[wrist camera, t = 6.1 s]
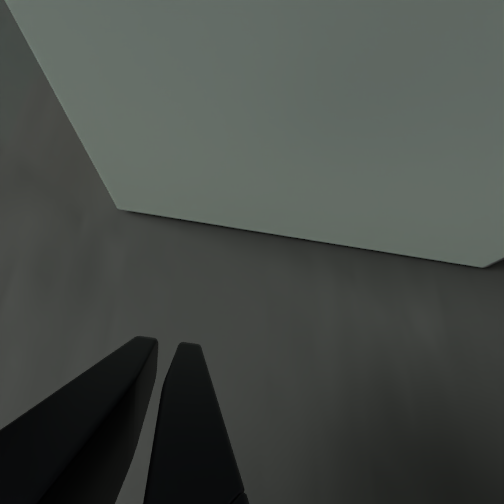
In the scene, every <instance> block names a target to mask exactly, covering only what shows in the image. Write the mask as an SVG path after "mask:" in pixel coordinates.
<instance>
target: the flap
mask: <svg viewBox="0 0 504 504" xmlns="http://www.w3.org/2000/svg"><path fill="white" fill-rule="evenodd" d="M5 2H6V4H7V6H8V7H9V9H10V11H11V13H12V15H13V17H14V18H15V20H16V22H17V24H18V26H19V28H20V30H21V31H22V33H23V35H24V37H25V39H26V41H27V42H28V44H29V46H30V48H31V50H32V52H33V54H34V55H35V57H36V59H37V61H38V63H39V65H40V66H41V68H42V70H43V72H44V74H45V76H46V78H47V79H48V81H49V83H50V85H51V87H52V89H53V90H54V92H55V94H56V96H57V98H58V100H59V101H60V103H61V105H62V107H63V109H64V111H65V113H66V114H67V116H68V118H69V120H70V122H71V124H72V125H73V127H74V129H75V131H76V133H77V135H78V137H79V138H80V140H81V142H82V144H83V146H84V148H85V149H86V151H87V153H88V155H89V157H90V159H91V161H92V162H93V164H94V166H95V168H96V170H97V172H98V173H99V175H100V177H101V179H102V181H103V183H104V185H105V186H106V188H107V190H108V192H109V194H110V196H111V197H112V199H113V201H114V203H115V205H116V207H117V209H121V210H127V211H134V212H140V213H146V214H152V215H158V216H165V217H171V218H177V219H183V220H189V221H196V222H202V223H208V224H214V225H221V226H227V227H233V228H239V229H245V230H252V231H258V232H264V233H270V234H276V235H283V236H289V237H295V238H301V239H307V240H314V241H320V242H326V243H332V244H339V245H345V246H351V247H357V248H363V249H370V250H376V251H382V252H388V253H394V254H401V255H407V256H413V257H419V258H425V259H432V260H438V261H444V262H450V263H457V264H463V265H469V266H475V267H481V268H486V267H489V266H491V265H493V264H496V263H498V262H500V261H502V260H504V0H5Z"/></svg>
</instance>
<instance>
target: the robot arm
mask: <svg viewBox="0 0 504 504" xmlns="http://www.w3.org/2000/svg"><path fill="white" fill-rule="evenodd" d="M157 357H158V341H157V339H156V338H151V337H144V336H137V337H134V338H133V339H132V340H130V341H129V342H127V343H126V344H124V345H123V346H121V347H120V348H118V349H117V350H116V351H114V352H113V353H111V354H110V355H108V356H107V357H105V358H104V359H103V360H101V361H100V362H98V363H97V364H95V365H94V366H92V367H91V368H89V369H88V370H87V371H85V372H84V373H82V374H81V375H79V376H78V377H76V378H75V379H74V380H72V381H71V382H69V383H68V384H66V385H65V386H63V387H62V388H60V389H59V390H58V391H56V392H55V393H53V394H52V395H50V396H49V397H47V398H46V399H45V400H43V401H42V402H40V403H39V404H37V405H36V406H34V407H33V408H31V409H30V410H29V411H27V412H26V413H24V414H23V415H21V416H20V417H18V418H17V419H16V420H14V421H13V422H11V423H10V424H8V425H7V426H5V427H4V428H2V429H1V430H0V504H115V502H116V499H117V497H118V494H119V492H120V489H121V487H122V485H123V482H124V480H125V477H126V475H127V472H128V470H129V467H130V464H131V462H132V459H133V456H134V453H135V450H136V446H137V443H138V440H139V436H140V433H141V429H142V425H143V422H144V418H145V415H146V411H147V408H148V404H149V401H150V397H151V394H152V390H153V386H154V383H155V379H156V372H157ZM143 504H249V502H248V498H247V495H246V494H245V493H244V486H243V483H242V480H241V476H240V473H239V470H238V466H237V463H236V460H235V457H234V453H233V450H232V447H231V443H230V440H229V437H228V434H227V430H226V427H225V424H224V420H223V417H222V414H221V411H220V407H219V404H218V401H217V398H216V394H215V391H214V388H213V384H212V381H211V378H210V375H209V371H208V368H207V365H206V361H205V358H204V355H203V352H202V348H201V346H200V345H199V344H193V343H186V342H182V343H180V344H179V345H178V348H177V350H176V353H175V355H174V358H173V360H172V363H171V365H170V368H169V370H168V373H167V375H166V378H165V381H164V384H163V387H162V392H161V398H160V404H159V410H158V416H157V422H156V428H155V434H154V441H153V447H152V453H151V459H150V465H149V471H148V477H147V483H146V490H145V496H144V502H143Z"/></svg>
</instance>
